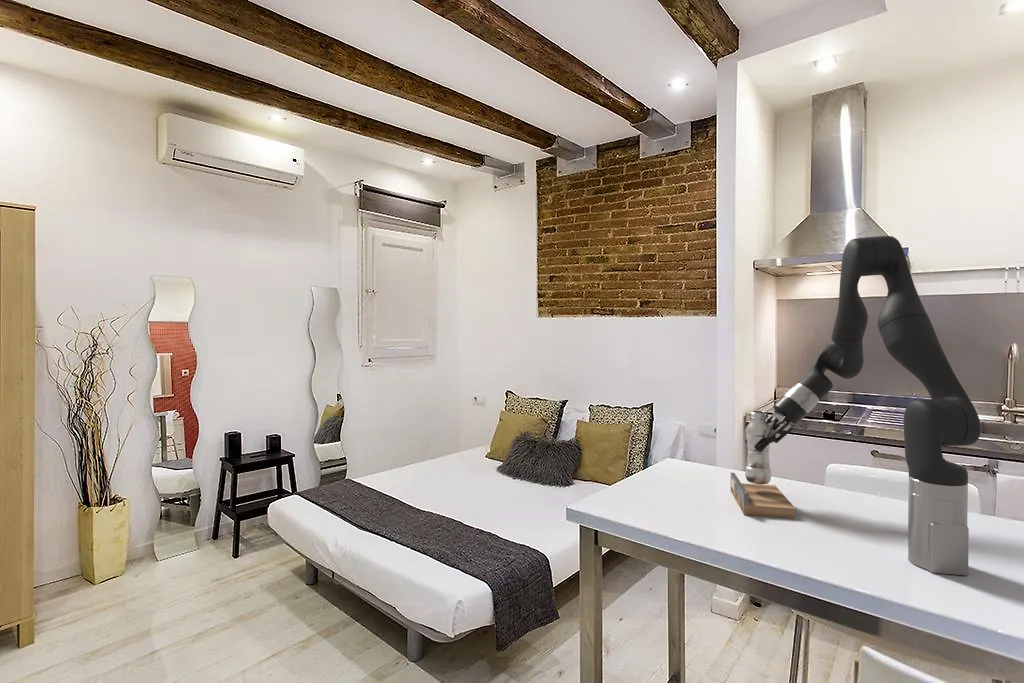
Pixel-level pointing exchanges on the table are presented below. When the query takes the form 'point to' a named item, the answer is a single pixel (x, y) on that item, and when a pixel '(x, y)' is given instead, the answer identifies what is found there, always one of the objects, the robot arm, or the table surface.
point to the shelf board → (765, 501)
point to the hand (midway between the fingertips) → (752, 446)
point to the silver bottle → (756, 460)
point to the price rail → (739, 489)
